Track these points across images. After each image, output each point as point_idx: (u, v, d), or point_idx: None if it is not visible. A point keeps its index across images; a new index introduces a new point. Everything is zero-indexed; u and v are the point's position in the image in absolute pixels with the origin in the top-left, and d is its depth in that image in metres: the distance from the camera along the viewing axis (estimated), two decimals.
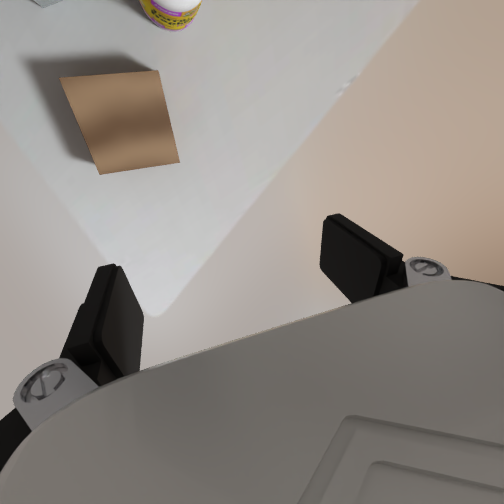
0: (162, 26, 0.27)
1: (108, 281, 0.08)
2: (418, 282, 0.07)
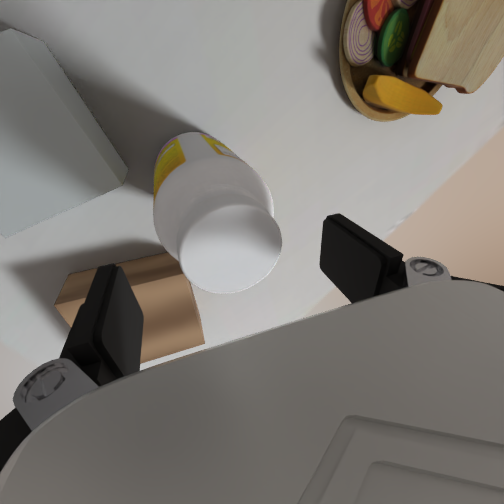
0: None
1: (108, 281, 0.08)
2: (418, 282, 0.07)
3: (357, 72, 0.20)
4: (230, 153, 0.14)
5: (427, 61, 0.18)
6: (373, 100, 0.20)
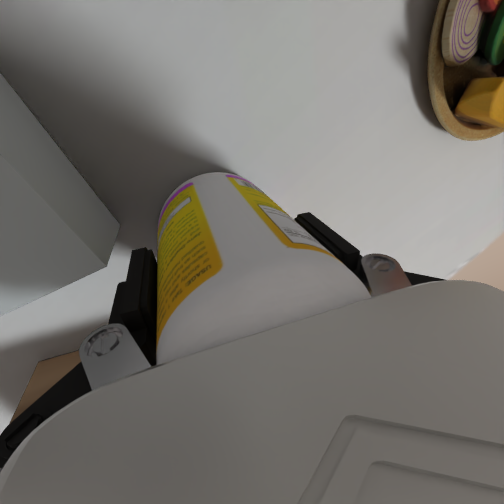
0: None
1: (144, 261, 0.09)
2: (377, 279, 0.08)
3: (448, 74, 0.14)
4: (295, 229, 0.08)
5: None
6: (473, 113, 0.14)
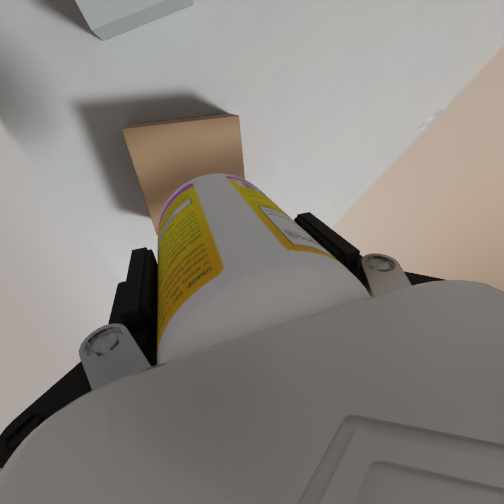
0: None
1: (144, 261, 0.09)
2: (377, 279, 0.08)
3: None
4: (295, 231, 0.08)
5: None
6: None
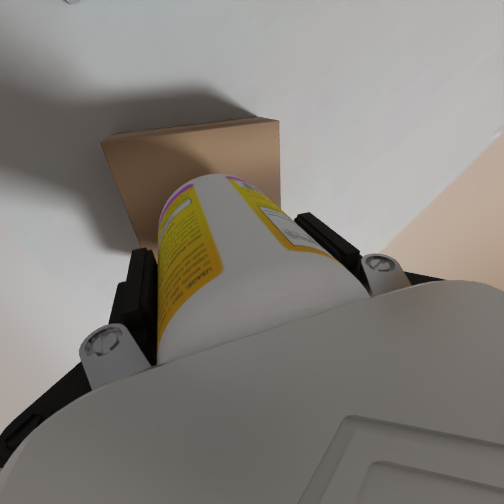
0: None
1: (144, 262, 0.09)
2: (377, 279, 0.08)
3: None
4: (295, 231, 0.08)
5: None
6: None
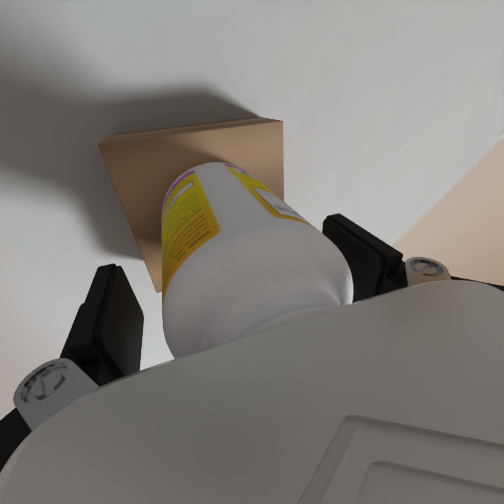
0: None
1: (108, 281, 0.08)
2: (418, 282, 0.07)
3: None
4: (283, 206, 0.09)
5: None
6: None
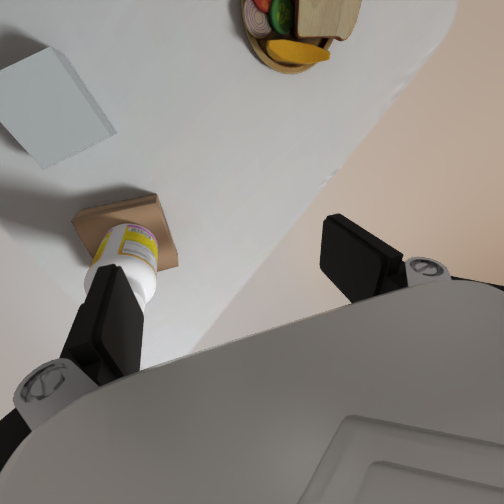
0: None
1: (108, 281, 0.08)
2: (418, 282, 0.07)
3: (264, 42, 0.30)
4: (129, 248, 0.26)
5: (304, 24, 0.27)
6: (278, 59, 0.29)
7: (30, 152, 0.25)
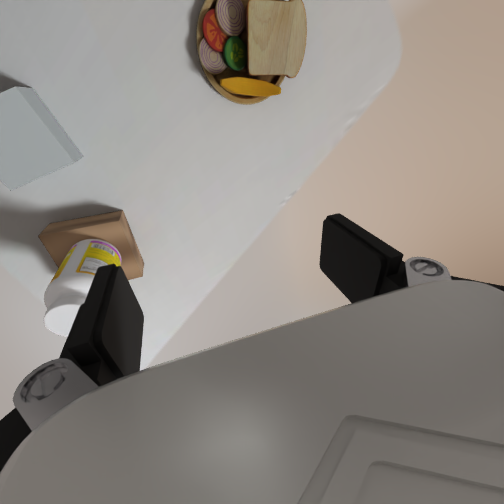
0: None
1: (108, 281, 0.08)
2: (418, 282, 0.07)
3: (221, 76, 0.32)
4: (88, 266, 0.29)
5: (254, 64, 0.30)
6: (233, 92, 0.32)
7: None
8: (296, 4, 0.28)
